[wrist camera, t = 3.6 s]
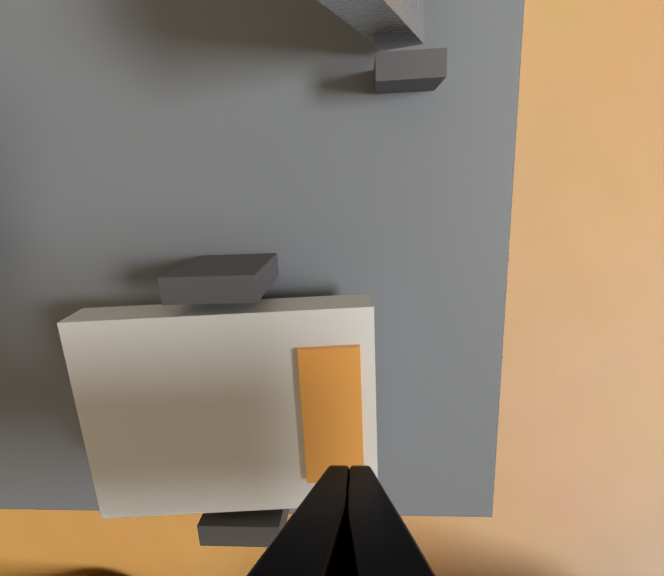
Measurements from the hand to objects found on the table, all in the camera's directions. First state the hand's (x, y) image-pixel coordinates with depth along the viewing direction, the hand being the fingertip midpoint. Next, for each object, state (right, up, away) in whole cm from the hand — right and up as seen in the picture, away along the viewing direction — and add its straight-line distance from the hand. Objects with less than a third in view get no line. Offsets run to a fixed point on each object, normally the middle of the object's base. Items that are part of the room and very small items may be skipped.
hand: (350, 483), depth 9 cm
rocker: (-3, +1, +3) cm, 5 cm away
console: (-7, +6, +7) cm, 12 cm away
